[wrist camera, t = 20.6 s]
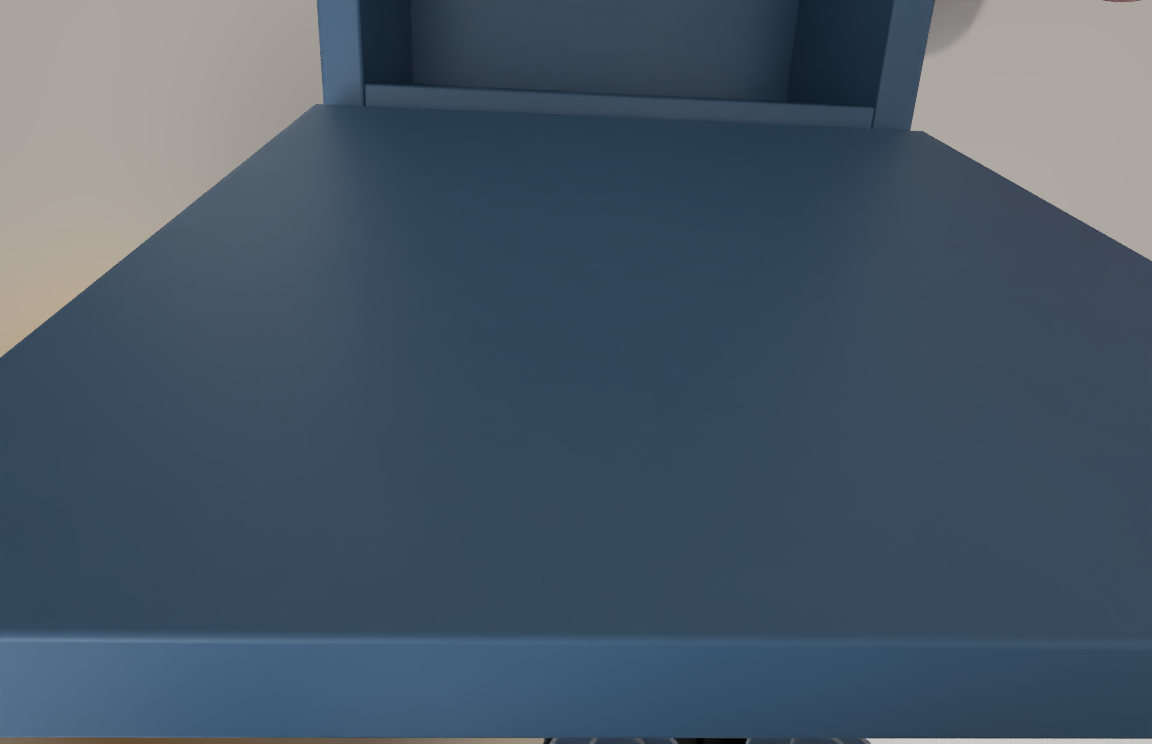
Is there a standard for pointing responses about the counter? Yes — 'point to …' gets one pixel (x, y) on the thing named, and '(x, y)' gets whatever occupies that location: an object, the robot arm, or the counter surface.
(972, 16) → the counter surface
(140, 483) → the lid
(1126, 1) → the can
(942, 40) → the counter surface
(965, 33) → the counter surface
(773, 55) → the blue open square box
